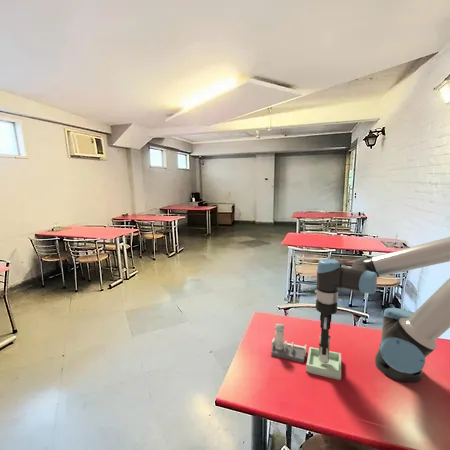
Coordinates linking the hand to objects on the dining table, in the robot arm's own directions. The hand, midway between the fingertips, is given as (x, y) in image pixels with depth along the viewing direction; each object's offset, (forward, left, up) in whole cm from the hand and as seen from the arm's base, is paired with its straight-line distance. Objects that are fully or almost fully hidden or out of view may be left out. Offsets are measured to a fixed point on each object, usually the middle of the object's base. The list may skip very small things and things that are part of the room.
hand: (323, 357), depth 103 cm
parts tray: (0, 0, -4) cm, 4 cm away
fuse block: (+14, -3, -4) cm, 15 cm away
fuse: (+18, -3, -2) cm, 18 cm away
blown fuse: (0, 0, -1) cm, 1 cm away
